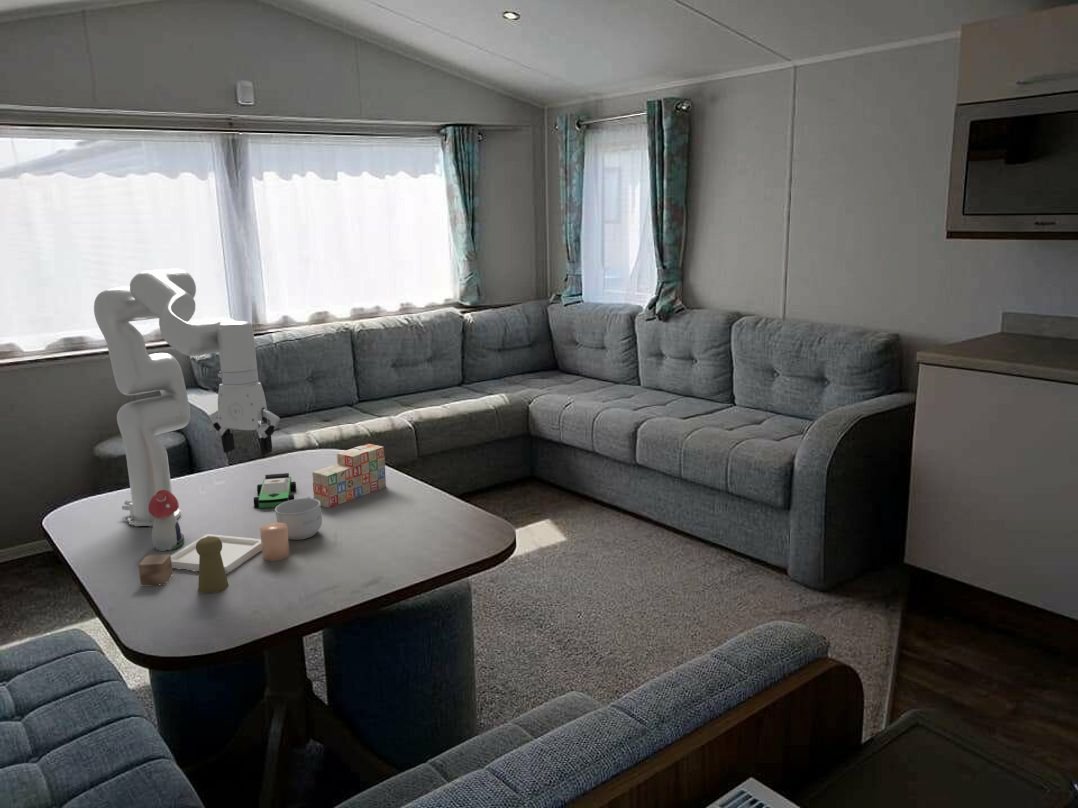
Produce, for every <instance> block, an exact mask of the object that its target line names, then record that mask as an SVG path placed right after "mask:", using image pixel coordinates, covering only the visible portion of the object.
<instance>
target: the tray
mask: <svg viewBox="0 0 1078 808" xmlns="http://www.w3.org/2000/svg"><path fill="white" fill-rule="evenodd" d="M205 537H217V538H219V539H220V540H221V542H222V550H221V552H220V553H221V557H222V561H223V565H224V569H225V573H226V574H227V575H228V574H230V573H231V572H233V571H234V570H235V569H237V568H238V567H239V566H241V565H242V564H244V563H245V562H247V561H248V560H250V559H251V558H253V557H254V556H256V555H257V554H258V553H260V552H262V545H261V538H254V537H242V536H232V535H220V534H211V533H206V534H205V535H202V536H201V537H200V538H198V539H196V540H195V541H193V542H192V543H190V544H188V545H187V546H184V547H183V548H181V549H179V550H178V551H176V552H175V553H173V554H170V555H171V564H172V568H178V569H177V570H179V568H180V569H188V570H195V571H194V572H197V571H199V556H200V555H199V554H198V553H197V551H196V544H197V542H198V541H199V540H200V539H202V538H205ZM188 570H187V571H188ZM229 572H230V573H229Z"/></svg>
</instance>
